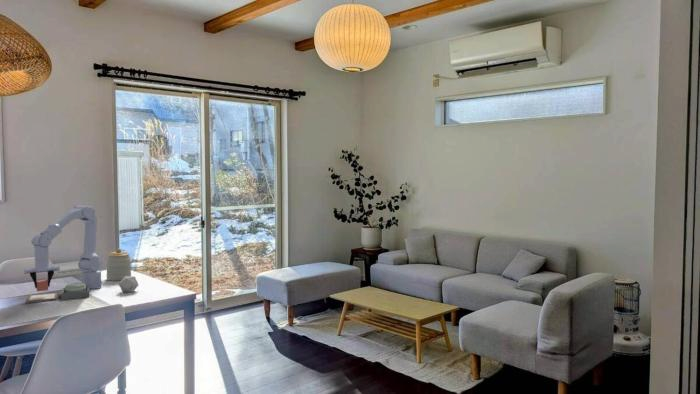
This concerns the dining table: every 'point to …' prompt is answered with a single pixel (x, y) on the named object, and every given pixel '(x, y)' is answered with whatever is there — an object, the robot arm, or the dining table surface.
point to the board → (42, 297)
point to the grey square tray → (74, 294)
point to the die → (128, 284)
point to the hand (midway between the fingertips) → (42, 287)
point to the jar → (118, 265)
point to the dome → (75, 287)
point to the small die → (42, 285)
